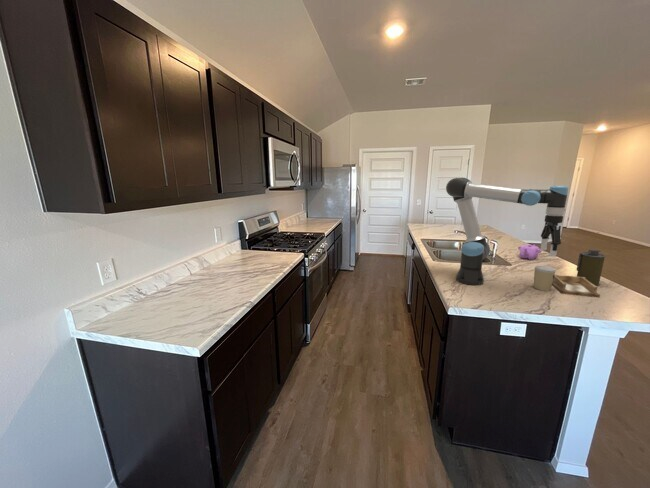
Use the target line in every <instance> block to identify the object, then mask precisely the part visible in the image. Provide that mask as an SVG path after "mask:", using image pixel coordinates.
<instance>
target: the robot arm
mask: <svg viewBox="0 0 650 488" xmlns="http://www.w3.org/2000/svg"><path fill="white" fill-rule="evenodd" d="M445 190H446V193H447V195H448V196H451V197H452V199H453V202H455V203H456V204H457V208H458V210H459V211H458V212H459V214H460V218H461V222H462V225H463V229H464V233H465V237H466V239H465V241H464V242H465V243H463V244H462V246H461V255H460V256H461V257H460V268H459V269H458V272H457V273H456V277H455V280H456V282H458V283H461V284H464V285H468V286H469V285H470V286H481V285H483V284H484V280H485V277H484V276H483V271H482V267H483V260H484V259H485V258H487V257H488V256H489V255H490V251H491V247H490V244H489V243H488V242H487V240H486V237H485V236H484V235H482V233H481V232H482V231H481V228H480V224H479V220H478V216H477V213H476V210H475V207H474V202H473V200H472V199H473V198H477V199H478V198H479V199H485V200H492V201H499V202H500V201H501V202H507V203H515V204H520V205H526V206H531V207H532V206H535V205H537V204H544V205H546V208H545V214H546V215H545V217H544V222H545V223H544V225H543V230H541V231H542V232H541V234H540V237H541V243H540V247H539V249H540V250H542V251H547V247H548V244H549V243H548V242H549V239H550V238H549V237H550V236H551V243H550V248H549V249H550V250H549V254H548V256H549V257H553V258H554V257H557V253H558V247H559V246H560V245H561V225H559V224H562V223H563V220H564V216H563V215H564V214H565V211H566V205H567V204H566V203H567V200H568V193H569V187H568V186H566V185H551V186H550V187H549V189H538V188H537V189H536V188H535V189H531V188H530V189H528V188H527V189H522V188H514V187H506V186H498V185H497V186H496V185H488V184H481V183H473V182H472V181H471V180H470V179H469V178H467V177H455V178H452V179H450V180H449V181H447V183H446V187H445Z"/></svg>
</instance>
